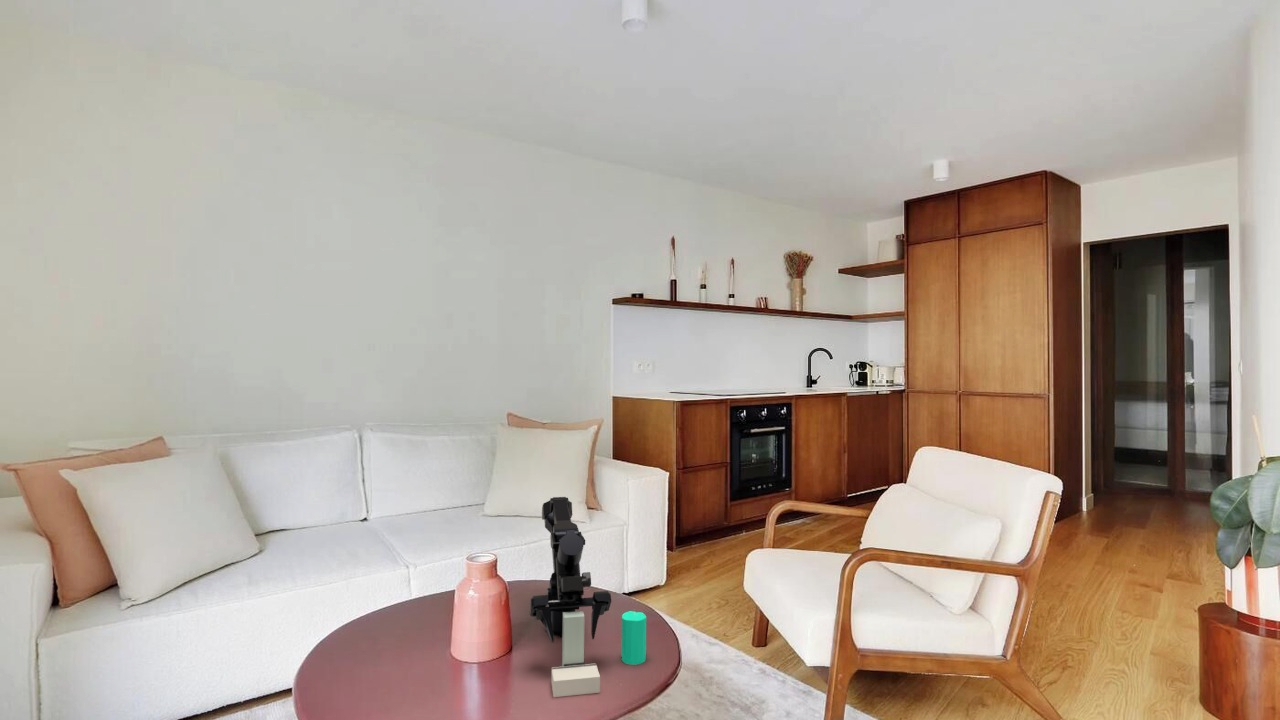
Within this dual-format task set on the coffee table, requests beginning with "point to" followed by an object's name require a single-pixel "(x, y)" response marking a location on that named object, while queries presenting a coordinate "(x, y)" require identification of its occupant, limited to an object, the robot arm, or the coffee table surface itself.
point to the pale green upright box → (573, 638)
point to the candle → (633, 637)
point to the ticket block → (575, 680)
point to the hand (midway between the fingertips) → (573, 640)
